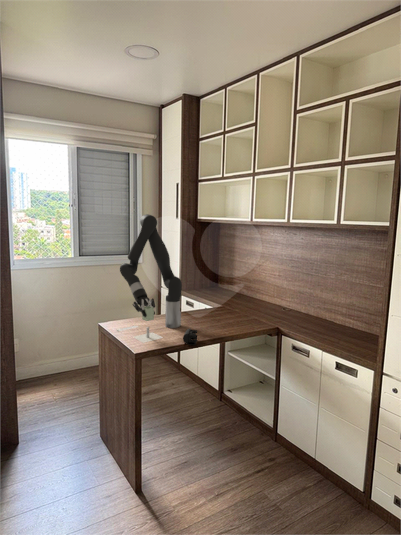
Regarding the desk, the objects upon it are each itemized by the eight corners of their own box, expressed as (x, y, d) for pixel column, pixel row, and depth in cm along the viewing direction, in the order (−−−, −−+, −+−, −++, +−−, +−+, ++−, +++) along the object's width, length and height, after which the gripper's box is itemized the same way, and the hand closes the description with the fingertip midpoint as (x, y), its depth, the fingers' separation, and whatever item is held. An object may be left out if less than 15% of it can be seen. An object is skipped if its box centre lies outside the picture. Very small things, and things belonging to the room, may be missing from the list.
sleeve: (149, 317, 212) (149, 306, 211) (153, 319, 209) (153, 307, 208) (142, 319, 209) (142, 307, 208) (146, 321, 206) (146, 309, 205)
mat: (136, 326, 235) (136, 325, 235) (148, 331, 225) (148, 330, 225) (116, 330, 226) (116, 329, 226) (128, 336, 216) (128, 335, 215)
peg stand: (152, 334, 220) (152, 322, 219) (163, 340, 211) (163, 327, 210) (131, 339, 210) (131, 327, 209) (143, 345, 202) (143, 332, 200)
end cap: (185, 339, 214) (185, 327, 213) (197, 339, 213) (197, 328, 212) (182, 344, 204) (182, 333, 203) (195, 345, 203) (195, 334, 202)
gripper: (130, 289, 207) (141, 314, 200) (151, 286, 217) (162, 310, 209) (125, 296, 212) (136, 321, 205) (146, 293, 221) (157, 317, 214)
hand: (149, 315), depth 207 cm, fingers closed on sleeve, 4 cm apart
